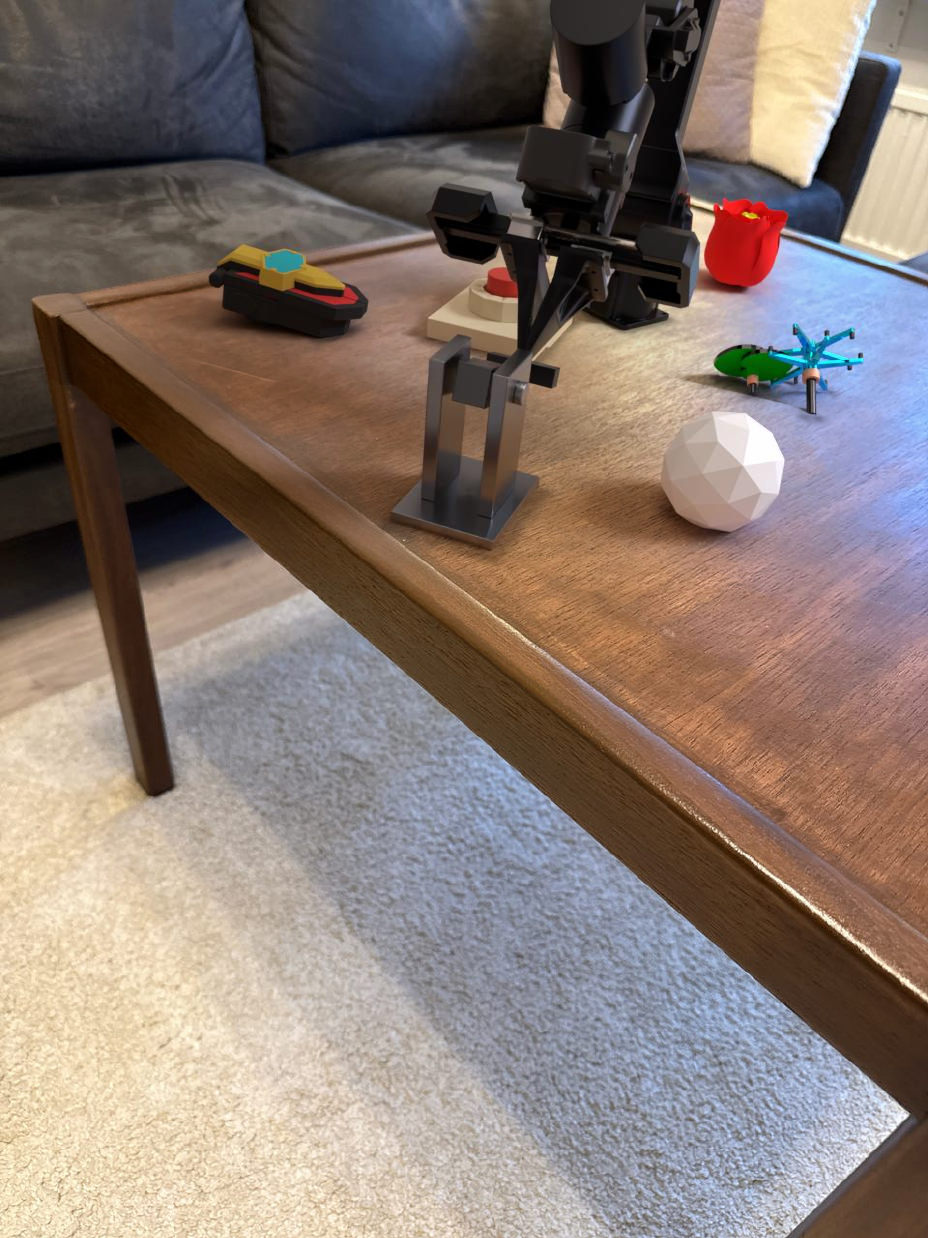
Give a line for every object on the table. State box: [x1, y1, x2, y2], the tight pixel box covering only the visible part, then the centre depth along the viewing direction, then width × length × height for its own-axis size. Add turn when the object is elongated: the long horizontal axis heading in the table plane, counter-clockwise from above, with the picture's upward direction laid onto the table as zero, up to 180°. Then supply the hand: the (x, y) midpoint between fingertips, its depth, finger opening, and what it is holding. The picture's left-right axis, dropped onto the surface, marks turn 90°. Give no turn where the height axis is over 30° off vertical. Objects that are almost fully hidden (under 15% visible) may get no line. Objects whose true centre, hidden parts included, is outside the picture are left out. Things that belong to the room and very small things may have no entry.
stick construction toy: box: [713, 323, 864, 416], centre depth 80 cm, size 12×7×8 cm
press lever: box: [452, 352, 561, 410], centre depth 61 cm, size 11×5×2 cm, turn 158°
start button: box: [486, 266, 518, 298], centre depth 85 cm, size 4×4×2 cm
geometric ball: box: [659, 410, 786, 533], centre depth 62 cm, size 8×8×8 cm
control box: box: [425, 276, 574, 361], centre depth 86 cm, size 12×10×4 cm
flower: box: [703, 197, 789, 288], centre depth 101 cm, size 8×8×8 cm
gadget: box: [208, 243, 370, 338], centre depth 84 cm, size 6×13×6 cm, turn 78°
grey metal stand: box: [390, 334, 541, 551], centre depth 60 cm, size 9×7×11 cm
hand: (523, 357), depth 65 cm, fingers closed, pressing on press lever
